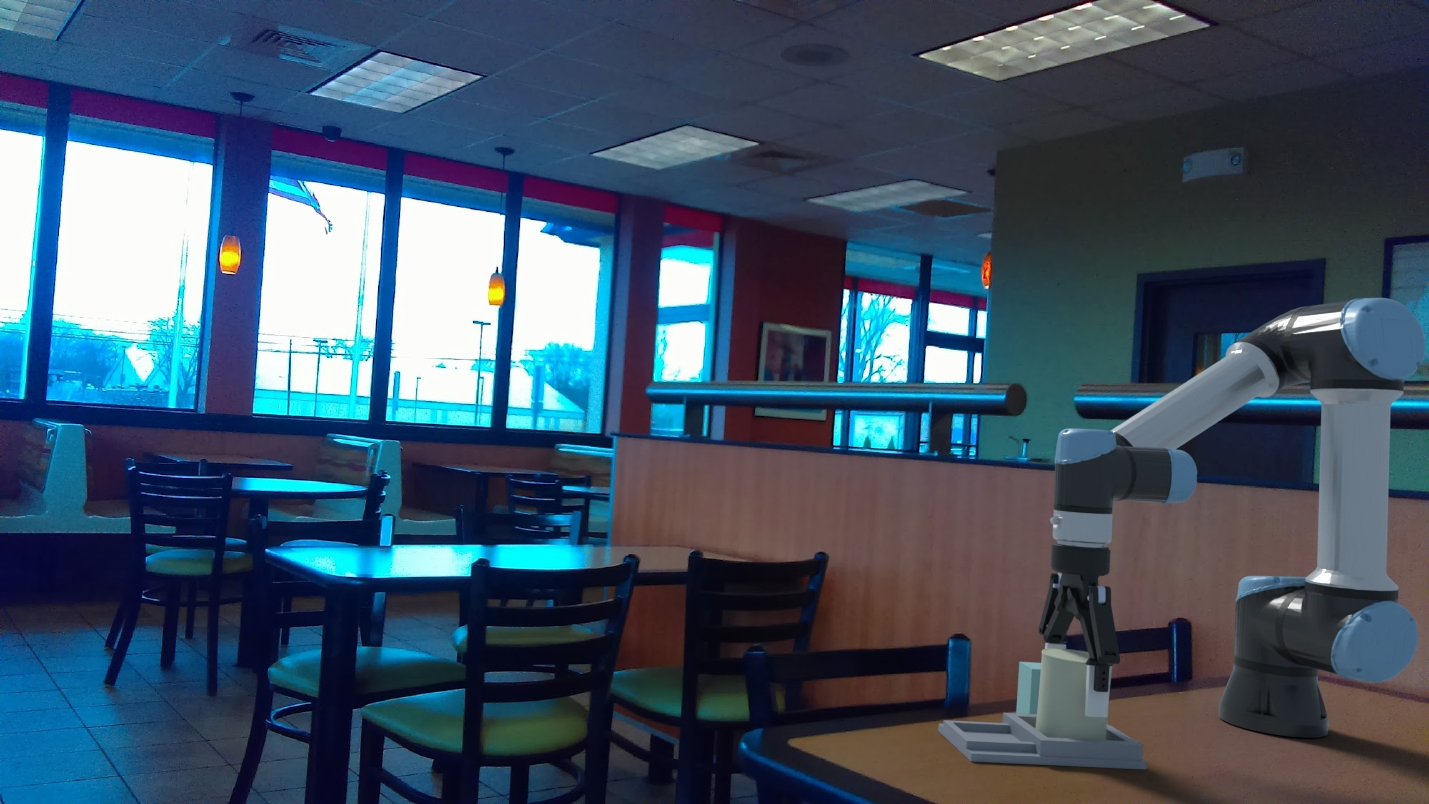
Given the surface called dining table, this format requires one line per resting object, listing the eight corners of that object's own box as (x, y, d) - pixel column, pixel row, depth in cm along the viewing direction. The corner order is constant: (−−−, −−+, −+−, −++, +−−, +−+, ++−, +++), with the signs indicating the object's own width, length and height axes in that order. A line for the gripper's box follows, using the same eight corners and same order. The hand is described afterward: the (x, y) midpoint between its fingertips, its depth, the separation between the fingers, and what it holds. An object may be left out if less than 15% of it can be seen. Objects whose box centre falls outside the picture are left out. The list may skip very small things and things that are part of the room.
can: (1111, 757, 139) (1120, 663, 139) (1037, 746, 141) (1046, 654, 141) (1099, 738, 148) (1107, 650, 148) (1030, 728, 150) (1037, 641, 150)
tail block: (1048, 716, 163) (1051, 663, 163) (1061, 725, 158) (1065, 670, 158) (1016, 715, 163) (1019, 661, 163) (1028, 724, 158) (1032, 668, 158)
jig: (1097, 738, 152) (1099, 717, 152) (1146, 769, 138) (1147, 745, 138) (938, 730, 150) (939, 709, 150) (970, 761, 136) (972, 737, 136)
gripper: (1019, 533, 157) (1012, 680, 157) (1094, 552, 133) (1086, 727, 132) (1069, 535, 158) (1062, 682, 157) (1153, 555, 133) (1146, 729, 133)
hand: (1073, 703), depth 145 cm, fingers open, 13 cm apart
